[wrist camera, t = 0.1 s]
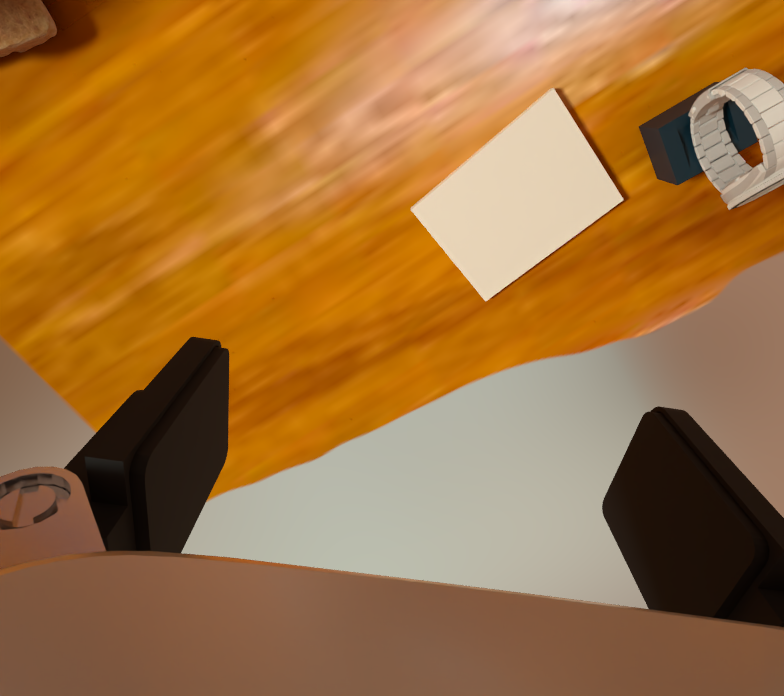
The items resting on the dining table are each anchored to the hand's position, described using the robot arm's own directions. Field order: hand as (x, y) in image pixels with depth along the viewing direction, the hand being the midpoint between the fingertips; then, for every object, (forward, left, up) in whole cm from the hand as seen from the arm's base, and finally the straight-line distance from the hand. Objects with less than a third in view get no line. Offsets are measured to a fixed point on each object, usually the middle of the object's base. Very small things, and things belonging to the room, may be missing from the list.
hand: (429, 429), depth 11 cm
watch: (-18, +10, -31) cm, 38 cm away
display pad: (-6, +6, -31) cm, 32 cm away
